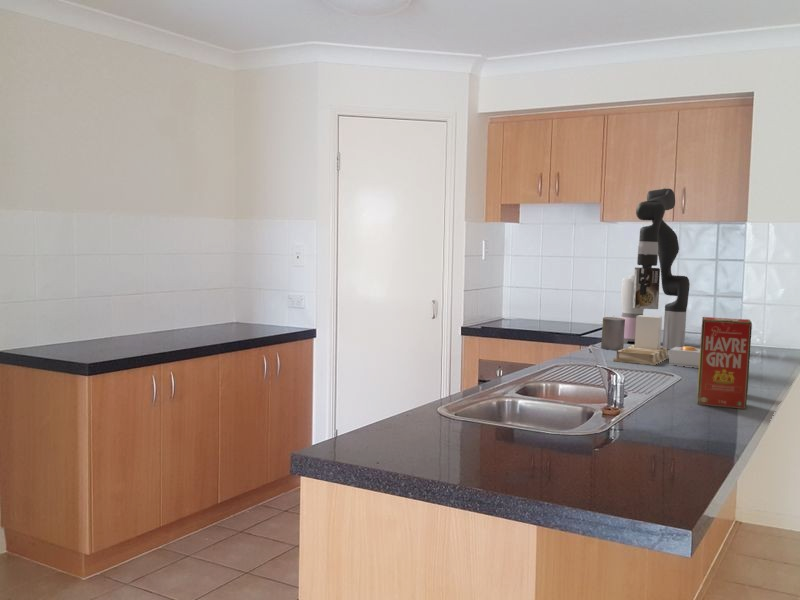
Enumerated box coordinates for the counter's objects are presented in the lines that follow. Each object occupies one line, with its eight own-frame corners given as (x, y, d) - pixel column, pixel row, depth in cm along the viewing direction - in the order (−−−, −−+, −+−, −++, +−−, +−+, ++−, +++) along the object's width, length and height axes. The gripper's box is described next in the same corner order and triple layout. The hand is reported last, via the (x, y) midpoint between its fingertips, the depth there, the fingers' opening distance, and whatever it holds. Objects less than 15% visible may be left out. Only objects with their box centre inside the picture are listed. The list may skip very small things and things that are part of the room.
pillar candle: (596, 347, 339) (598, 314, 338) (615, 346, 342) (617, 314, 341) (609, 350, 330) (611, 316, 329) (628, 350, 333) (630, 316, 332)
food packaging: (696, 404, 218) (702, 318, 216) (696, 399, 226) (701, 316, 225) (747, 409, 213) (753, 321, 211) (744, 403, 222) (750, 319, 220)
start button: (683, 358, 298) (683, 345, 297) (696, 359, 295) (696, 347, 295) (680, 359, 294) (681, 347, 293) (693, 361, 291) (694, 348, 291)
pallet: (631, 353, 321) (631, 344, 321) (670, 357, 313) (670, 348, 313) (613, 361, 298) (613, 351, 298) (654, 365, 290) (655, 355, 290)
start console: (675, 361, 303) (676, 346, 302) (707, 364, 297) (708, 349, 296) (668, 365, 293) (669, 349, 292) (701, 368, 286) (702, 352, 286)
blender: (646, 344, 354) (650, 276, 351) (619, 343, 356) (622, 275, 353) (641, 340, 369) (645, 275, 367) (615, 339, 371) (619, 274, 369)
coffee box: (655, 308, 300) (658, 268, 299) (658, 309, 294) (660, 268, 293) (632, 307, 302) (634, 267, 301) (634, 308, 296) (636, 267, 295)
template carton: (637, 353, 317) (639, 315, 316) (659, 355, 312) (662, 316, 311) (634, 354, 312) (636, 316, 311) (656, 356, 307) (658, 317, 306)
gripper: (642, 253, 305) (640, 293, 306) (633, 252, 292) (631, 294, 294) (661, 254, 301) (659, 294, 302) (653, 253, 289) (650, 296, 290)
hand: (645, 294), depth 298 cm, fingers closed on coffee box, 8 cm apart
